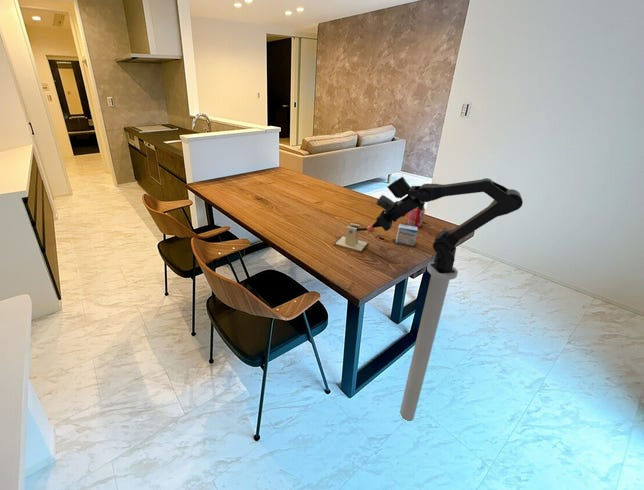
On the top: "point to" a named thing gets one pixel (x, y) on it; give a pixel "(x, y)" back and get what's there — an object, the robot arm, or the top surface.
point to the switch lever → (369, 228)
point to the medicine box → (406, 235)
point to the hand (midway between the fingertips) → (372, 226)
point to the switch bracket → (352, 239)
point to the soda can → (415, 217)
